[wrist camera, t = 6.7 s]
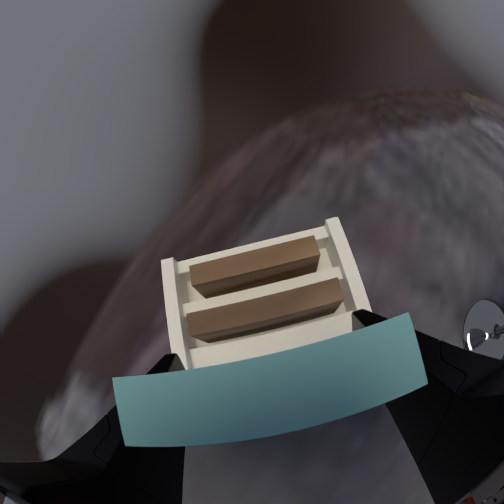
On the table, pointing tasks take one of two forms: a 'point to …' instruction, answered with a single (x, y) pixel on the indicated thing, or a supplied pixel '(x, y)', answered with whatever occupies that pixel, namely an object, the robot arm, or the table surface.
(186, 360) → the offcut rack
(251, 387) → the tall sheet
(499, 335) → the wine glass
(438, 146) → the table surface
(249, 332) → the walnut offcut
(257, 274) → the walnut offcut
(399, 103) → the table surface
